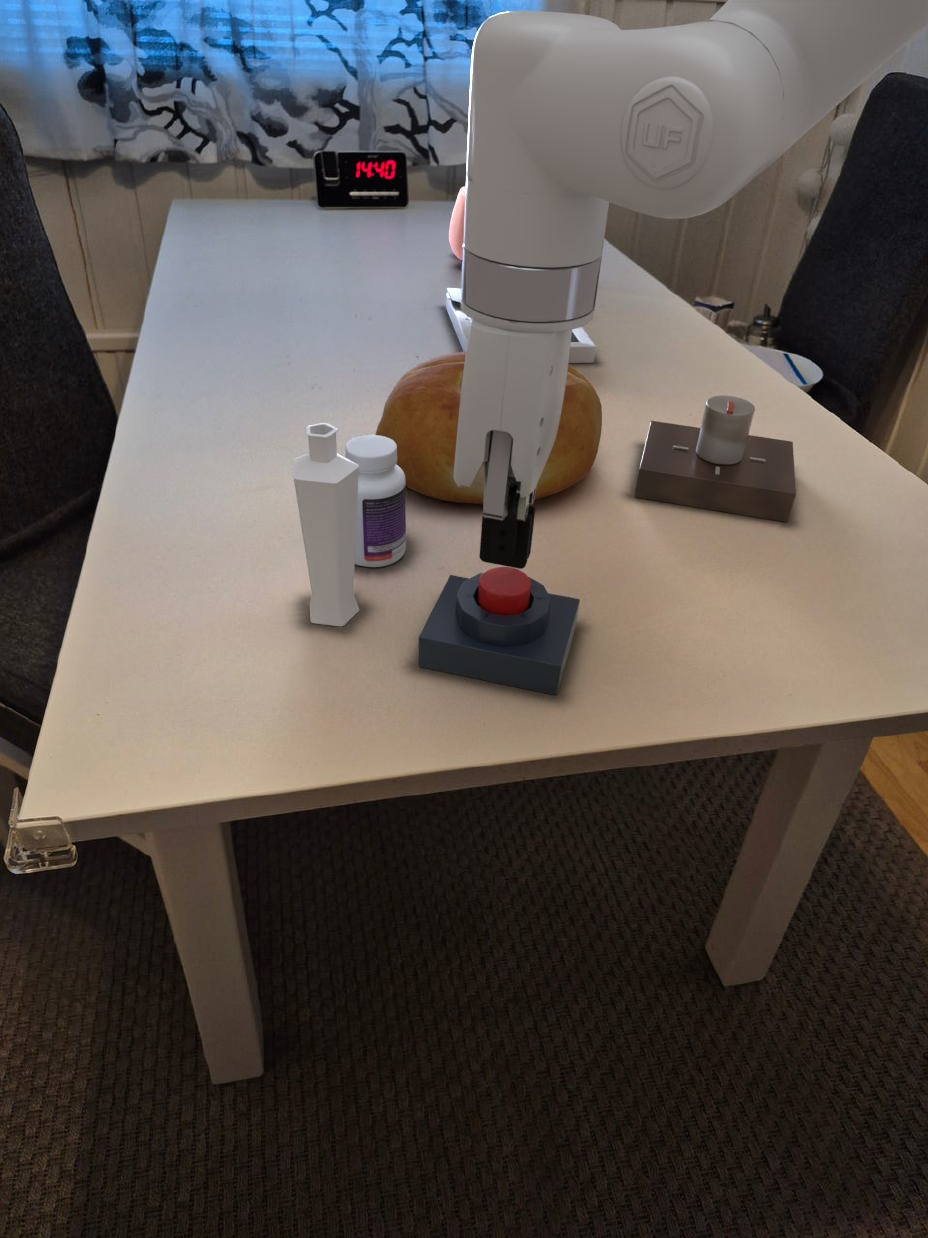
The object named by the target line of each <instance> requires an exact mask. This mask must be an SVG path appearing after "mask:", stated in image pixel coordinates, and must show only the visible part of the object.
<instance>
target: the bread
mask: <svg viewBox="0 0 928 1238" xmlns="http://www.w3.org/2000/svg"><path fill="white" fill-rule="evenodd" d="M465 357H466V351H464V352H463V351H460V352H453V353H452V352H451V353H447V354H443V355H439V356H436V357H434V358H433V357H432V358H431V359H429V360H426V361H424V362H421V363H419V364H417V365H416V366H414V367H413V368H411V369H410V370H409V371H407V372H406V373H405V374H403V375H402V376H401V377H400V379H399V380H398V381H397V382H396V384H395V386H393V388H392V391H390V393H389V394H388V396H387V398H386V399H385V400H386V401H385V402H384V407H383V411H382V416H381V418H380V420H379V422H378V424H377V428H376V431H375V434H374V435H379V436H384V437H387V438H390V439H392V440H393V441H394V442H395V443H396V445H397V463H396V465H398V466H399V467H400V468H401V469H402V471H403V472H404V474H405V482H406V488H409V489H410V490H413V491H415V492H417V493H419V494H421V495H423V496H426V497H428V498H432V499H435V500H436V499H437V500H441V501H445V502H453V503H462V504H472V505H473V504H474V505H483V497H484V462H485V461H484V462H483V464H482V466H481V468H480V470H479V472H478V473H477V475H476V477H475V479H474V481H473V482H472V484H471V486H470V487H467V486H464V487H463V488H462V487H458V486H457V484H456V483H455V481H454V463H455V452H456V441H457V430H458V419H459V408H460V398H461V388H462V379H463V371H464V364H465ZM602 407H603V406H602V402H601V398H600V397H599V395H598V392H597V391H596V389H595V387H594V386H593V384H592V383H591V382H590V381H589V380H588V378H587V377H586V376H585V375H584V374H583V373H581V371H579V370H578V369H576V368H574V367H573V366H572V365H570V364H568V370H567V378H566V385H565V392H564V399H563V405H562V411H561V416H560V422H559V427H558V431H557V435H556V439H555V442H554V445H553V447H552V450H551V452H550V455H549V457H548V460H547V462H546V464H545V467H544V469H543V471H542V474H541V476H540V478H539V480H538V483H537V486H536V493H535V499H534V501H535V500H539V499H542V498H546V497H549V496H552V495H555V494H558V493H560V492H562V491H565V490H566V489H568V488H571V487H572V486H574V485H576V484H577V483H579V482H580V481H581V480H583V478H585V477H586V476H587V474H588V473H589V472H590V471H591V469H592V467H593V465H594V464H595V462H596V460H597V459H596V458H597V455H598V451H599V447H600V443H601V436H602V429H603V411H602V410H603V409H602Z"/></svg>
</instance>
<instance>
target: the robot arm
mask: <svg viewBox="0 0 928 1238" xmlns="http://www.w3.org/2000/svg"><path fill="white" fill-rule="evenodd" d="M927 27H928V0H727V1H726V2H725V3H724V4H723V5H722V6H721V7H720V8H719V9H718V10H717V12H715V13H714V14H713V15H712V16H711V17H710V18H709V19H705V20H699V21H695V22H689V23H686V24H678V25H669V26H662V27H652V28H639V29H621V28H620V27H619V26H618V24H616V23H614V22H612V21H611V20H609V19H607V18H603V17H599V16H596V15H588V14H583V13H571V12H559V11H545V10H544V11H543V10H541V11H540V10H511V11H505V12H498V13H496V14H494V15H491V16H489V17H488V18H487V19H486V20H484V21H483V22H482V23H481V25H480V27H479V28H478V30H477V32H476V34H475V37H474V41H473V45H472V52H471V63H470V81H469V82H470V84H469V105H468V126H467V149H466V150H467V151H466V171H465V172H466V174H465V175H466V176H465V186H466V195H465V219H464V245H463V261H462V263H461V270H462V271H461V287H460V288H461V309H462V311H463V313H464V314H465V315H466V316H468V317H469V318H471V319H473V320H472V324H471V329H470V334H469V339H468V344H467V350H466V357H465V364H464V371H463V379H462V388H461V398H460V408H459V419H458V430H457V441H456V452H455V463H454V481H455V483H456V484H457V486H458V487H462V488H463V487H464V486H467V487H470V486H471V484H472V482H473V481H474V479H475V477H476V475H477V473H478V472H479V470H480V468H481V466H482V464H483V462H484V461H485V462H484V497H483V504H482V506H483V507H482V508H483V509H482V513H481V527H480V541H479V542H480V543H479V559H480V560H481V562H483V563H488V564H492V565H499V566H502V567H510V568H515V569H518V570H523V569H525V568H526V566H527V564H528V559H530V557H531V556H530V555H531V552H532V543H533V535H534V525H535V518H536V517H535V516H536V509H537V507H536V506H534V505H533V504H534V502H535V500H536V499H535V493H536V486H537V483H538V480H539V478H540V476H541V474H542V471H543V469H544V467H545V464H546V462H547V460H548V457H549V455H550V452H551V450H552V447H553V445H554V442H555V439H556V435H557V431H558V427H559V422H560V416H561V411H562V405H563V399H564V392H565V385H566V378H567V370H568V365H569V363H568V362H569V353H570V344H571V335H572V330H573V329H576V328H580V327H582V328H583V327H584V326H586V325H588V324H589V323H591V322H592V321H593V319H594V317H595V312H596V311H595V310H596V302H597V294H598V287H599V279H600V273H601V265H602V259H603V258H602V257H603V252H604V244H605V237H606V229H607V222H608V216H609V215H608V214H609V208H610V203H611V204H614V205H616V206H618V207H621V208H624V209H627V210H630V211H633V212H636V213H640V214H642V215H646V216H650V217H654V218H661V219H668V220H678V219H679V220H680V219H681V220H682V219H689V218H694V217H698V216H702V215H704V214H707V213H709V212H711V211H713V210H715V209H717V208H718V207H721V206H722V205H724V204H725V203H727V202H728V201H729V200H730V199H732V198H733V197H734V196H735V195H736V194H737V193H739V192H740V191H741V190H743V189H744V188H745V187H746V186H747V185H749V183H751V182H752V181H753V179H755V178H756V177H757V176H759V175H760V174H761V173H763V172H764V171H765V170H766V169H768V168H769V167H770V166H771V165H772V164H774V163H775V162H776V161H777V160H778V159H779V158H780V157H782V156H783V155H784V154H785V153H786V152H787V151H788V150H789V149H790V148H792V147H793V146H794V145H795V144H796V143H797V142H798V141H799V140H800V139H801V138H803V137H804V136H805V135H806V134H807V133H808V132H809V131H810V130H811V129H812V128H814V127H815V126H816V125H817V124H818V123H819V122H821V120H823V119H824V118H825V117H826V116H827V115H828V114H830V112H832V111H833V110H834V109H835V108H836V107H837V106H838V105H840V104H841V103H842V102H843V101H844V100H845V99H847V98H848V96H850V95H851V94H852V93H853V92H854V91H855V90H857V88H859V87H860V86H861V85H862V84H863V83H864V82H866V81H867V80H868V79H869V78H870V77H871V76H873V74H874V73H876V72H877V71H878V70H879V69H880V68H881V67H882V66H884V65H885V64H886V63H887V62H888V61H890V60H891V58H893V57H894V56H895V55H897V54H898V52H899V51H901V50H902V49H903V48H904V47H906V46H907V45H908V44H909V43H910V42H911V41H913V39H914V38H915V37H917V36H918V35H919V34H920V33H921V32H922V31H924V30H925V29H926V28H927ZM534 499H535V500H534Z"/></svg>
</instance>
